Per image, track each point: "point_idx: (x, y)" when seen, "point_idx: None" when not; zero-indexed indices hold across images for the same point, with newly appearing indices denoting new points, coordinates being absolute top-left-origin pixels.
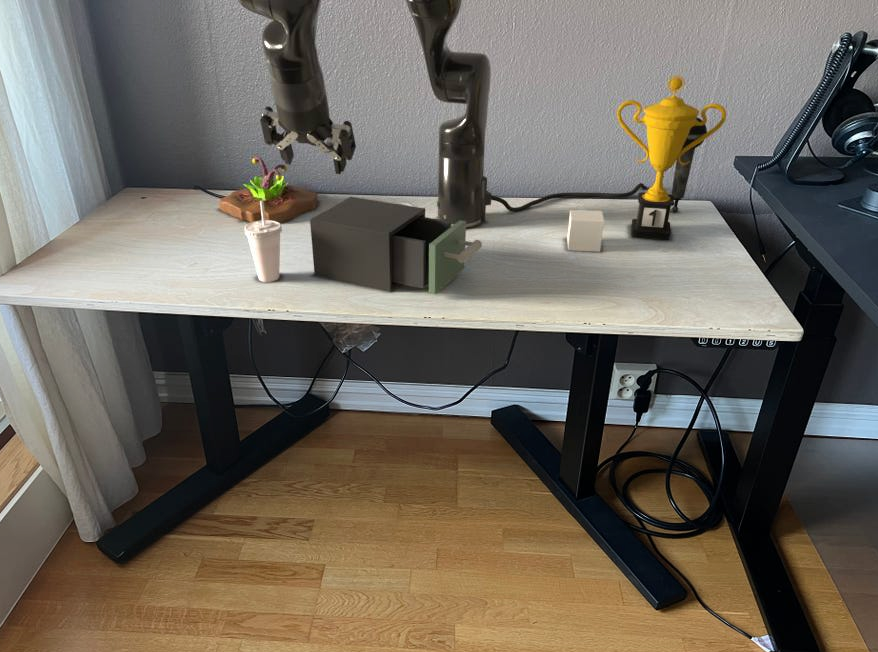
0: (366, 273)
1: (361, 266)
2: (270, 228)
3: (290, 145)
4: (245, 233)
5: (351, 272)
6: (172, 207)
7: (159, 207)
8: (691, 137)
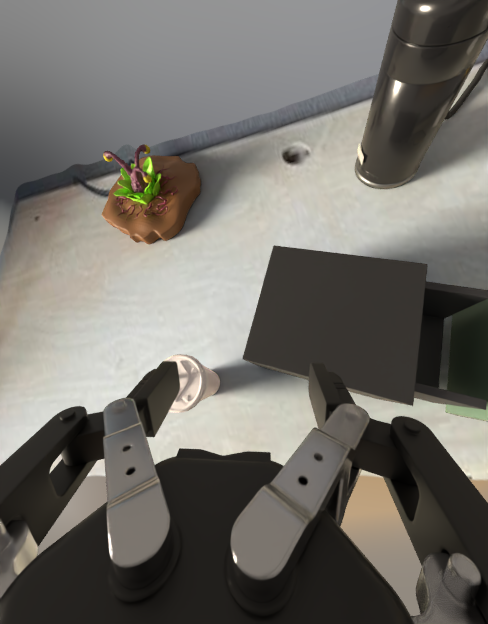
0: None
1: None
2: (190, 388)
3: (156, 391)
4: None
5: None
6: (65, 230)
7: (54, 234)
8: None
